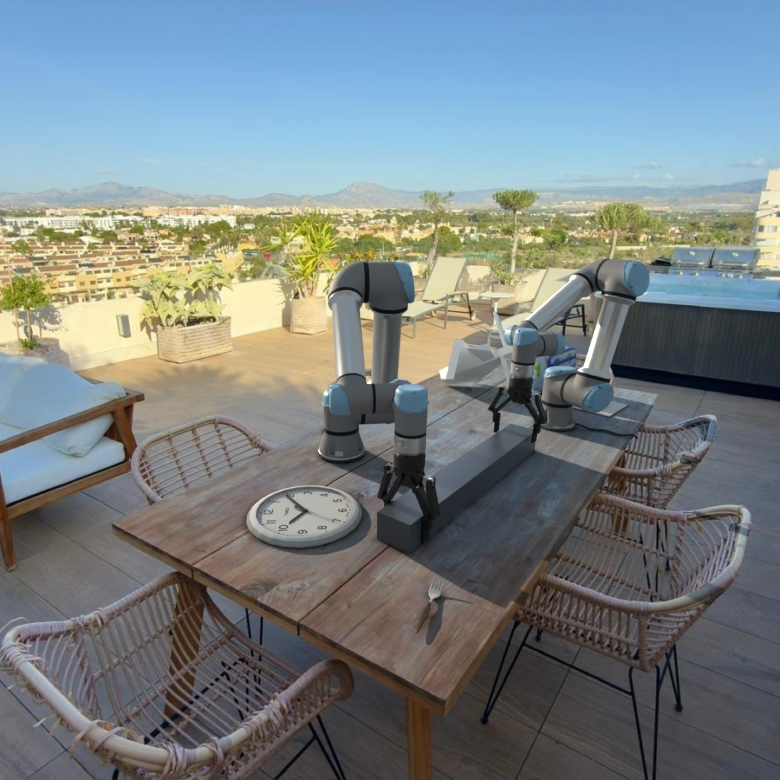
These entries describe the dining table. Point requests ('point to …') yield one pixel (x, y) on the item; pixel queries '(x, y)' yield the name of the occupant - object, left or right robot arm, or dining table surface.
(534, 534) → the dining table surface
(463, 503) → the wide beam
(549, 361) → the lunch box
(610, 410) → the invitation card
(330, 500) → the wall clock
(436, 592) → the fork
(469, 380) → the white plastic object
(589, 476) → the dining table surface
